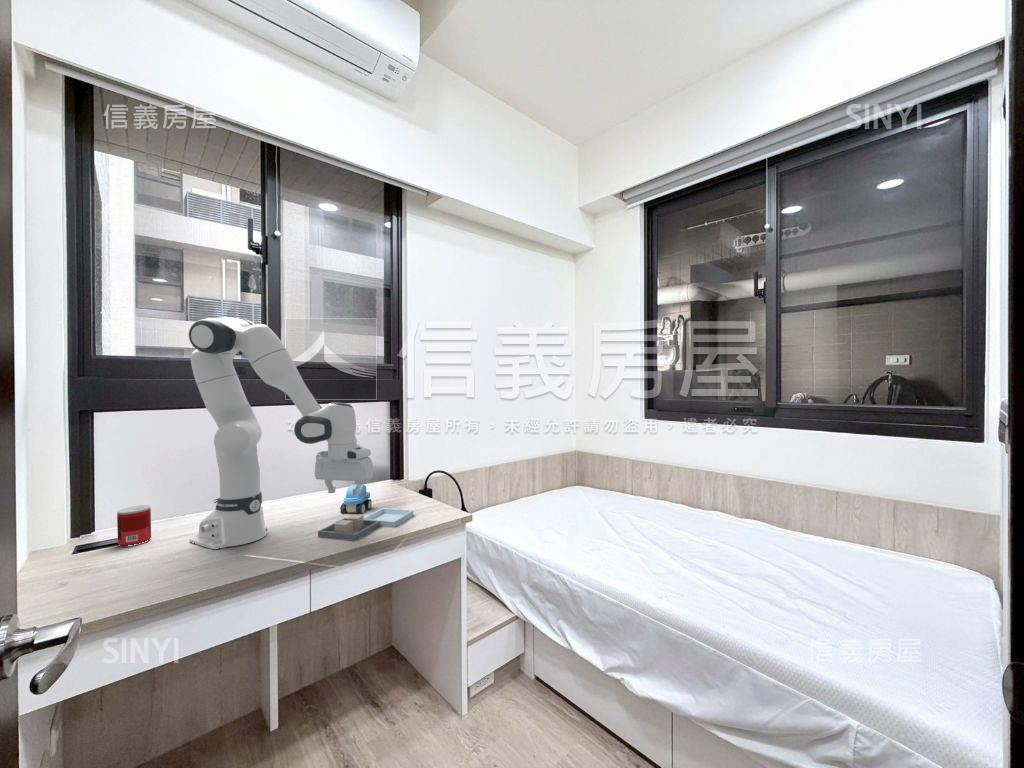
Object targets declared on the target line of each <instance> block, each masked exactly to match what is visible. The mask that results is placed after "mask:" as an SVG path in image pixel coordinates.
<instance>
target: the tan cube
mask: <svg viewBox="0 0 1024 768" xmlns="http://www.w3.org/2000/svg"><path fill="white" fill-rule="evenodd" d="M364 517H365V516H364V514H351V515H350V516H348V517H346V518H347V520H349V521H353V530H360V529H361V528H362V527H364Z"/></svg>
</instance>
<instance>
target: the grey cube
mask: <svg viewBox="0 0 1024 768" xmlns="http://www.w3.org/2000/svg"><path fill="white" fill-rule="evenodd" d="M341 520H342V519H341ZM338 521H339V522H338ZM338 521H336V522H337V523H336V522H334V523H335V524H334V523H333V524H334V528H335V532H339V533H349V534H352V533H353V521H349V520H342V521H340V520H338Z"/></svg>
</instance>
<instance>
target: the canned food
mask: <svg viewBox="0 0 1024 768" xmlns="http://www.w3.org/2000/svg"><path fill="white" fill-rule="evenodd" d="M151 510H152V508H151V505H148V504H144V505H143V504H142V505H141V504H140V505H133V506H129V507H124V508H121V509H119V510H117V515H116V519H117V521H116V522H117V524H116V525H117V544H118V546H119V545H120V546H128V545H134V544H139V543H142V542H145V541H147V540H149V539H150V538H152V518H151V517H152V515H151V514H152V511H151ZM150 540H151V539H150ZM150 540H149V541H150ZM120 546H119V547H120Z"/></svg>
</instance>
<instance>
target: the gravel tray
mask: <svg viewBox="0 0 1024 768" xmlns="http://www.w3.org/2000/svg"><path fill="white" fill-rule="evenodd" d="M347 518H348V517H343V518H342V519H340V520H337V521H336V522H334V523H331V524H330V525H327V526H325V527H323V528H321V529H319V530H317V537H318V538H326V539H336V540H346V541H354V542H355V541H357V540H359V539H361V538H363V537H365V536H366V535H368V534H369V533H371V532H373V531H375V530H376V529H378V528H380V527H381V526H380V521H372V520H364V527H362V528H361V529H360V530H353V533H352V534H349V533H339V532H335V528H334V524H335V523H337V522H339V521H342V520H347Z"/></svg>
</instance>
